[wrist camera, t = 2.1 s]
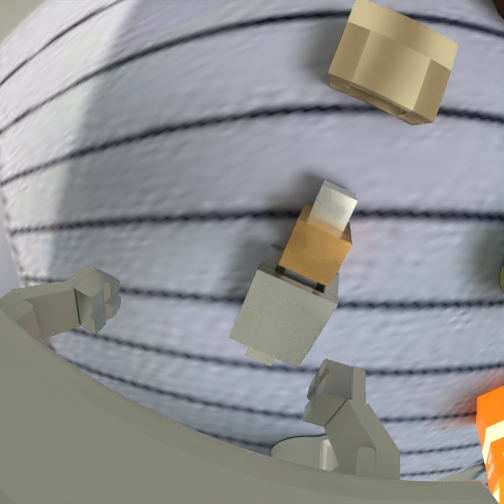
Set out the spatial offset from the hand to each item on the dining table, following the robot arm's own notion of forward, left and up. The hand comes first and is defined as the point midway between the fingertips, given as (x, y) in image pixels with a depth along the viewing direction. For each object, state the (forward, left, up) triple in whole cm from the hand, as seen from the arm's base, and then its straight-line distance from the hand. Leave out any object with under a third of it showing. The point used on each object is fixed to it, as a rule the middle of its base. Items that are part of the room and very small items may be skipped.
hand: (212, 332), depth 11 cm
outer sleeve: (-3, +8, -20) cm, 22 cm away
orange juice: (-41, +12, -20) cm, 47 cm away
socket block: (-3, -15, -20) cm, 25 cm away
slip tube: (-3, +6, -19) cm, 20 cm away
